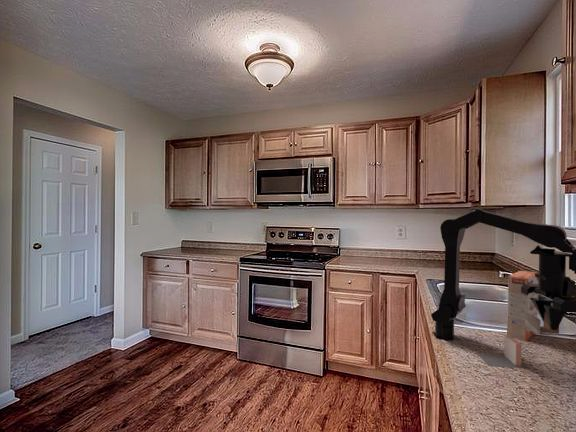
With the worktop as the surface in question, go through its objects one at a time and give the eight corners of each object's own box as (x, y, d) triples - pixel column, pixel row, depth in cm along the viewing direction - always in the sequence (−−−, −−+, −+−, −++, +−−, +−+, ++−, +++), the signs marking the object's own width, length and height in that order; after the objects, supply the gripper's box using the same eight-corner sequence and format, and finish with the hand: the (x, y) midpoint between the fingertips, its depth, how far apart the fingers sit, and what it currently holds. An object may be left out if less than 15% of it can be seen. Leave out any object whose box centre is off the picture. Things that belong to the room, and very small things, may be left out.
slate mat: (476, 354, 95) (476, 352, 95) (508, 356, 94) (508, 354, 94) (488, 368, 87) (488, 365, 87) (524, 370, 86) (524, 368, 86)
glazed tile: (504, 355, 93) (504, 335, 93) (509, 356, 93) (509, 335, 93) (515, 365, 87) (515, 344, 87) (521, 366, 87) (521, 344, 87)
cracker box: (528, 343, 103) (529, 278, 102) (506, 337, 107) (506, 275, 107) (538, 331, 112) (539, 272, 111) (517, 327, 117) (518, 269, 116)
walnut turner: (549, 327, 91) (549, 310, 91) (563, 335, 85) (563, 317, 85) (525, 326, 92) (525, 309, 92) (537, 334, 86) (537, 316, 86)
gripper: (614, 280, 78) (613, 344, 78) (561, 265, 96) (560, 317, 96) (563, 278, 79) (562, 341, 80) (520, 265, 98) (519, 316, 98)
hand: (551, 328), depth 88 cm, fingers closed on walnut turner, 2 cm apart
